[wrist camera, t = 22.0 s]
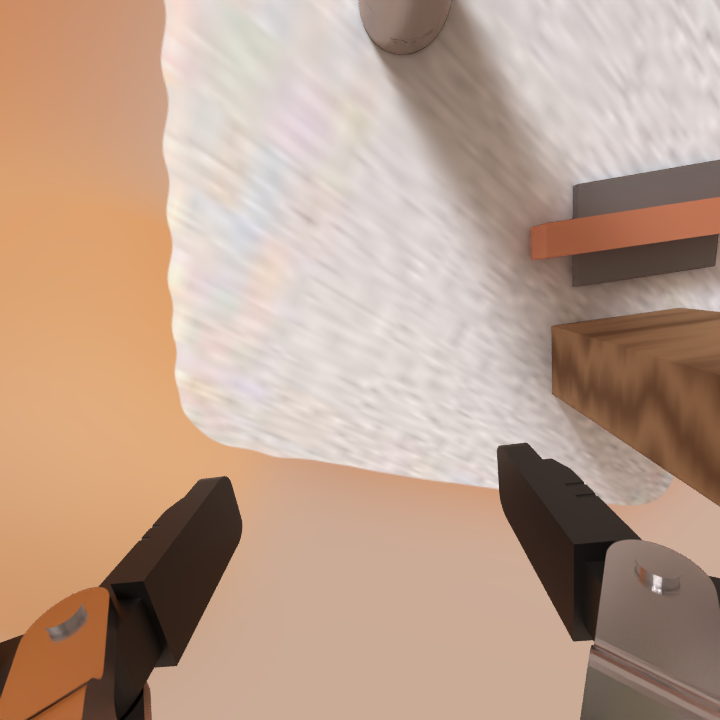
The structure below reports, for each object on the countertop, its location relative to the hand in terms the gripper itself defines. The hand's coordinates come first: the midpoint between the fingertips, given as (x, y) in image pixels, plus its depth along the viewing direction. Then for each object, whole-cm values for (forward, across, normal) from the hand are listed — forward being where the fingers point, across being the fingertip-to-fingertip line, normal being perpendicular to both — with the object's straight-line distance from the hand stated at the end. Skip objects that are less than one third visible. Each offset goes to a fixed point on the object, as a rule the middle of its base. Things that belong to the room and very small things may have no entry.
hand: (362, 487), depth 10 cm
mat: (+33, -32, -6) cm, 46 cm away
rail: (+32, -30, -6) cm, 44 cm away
